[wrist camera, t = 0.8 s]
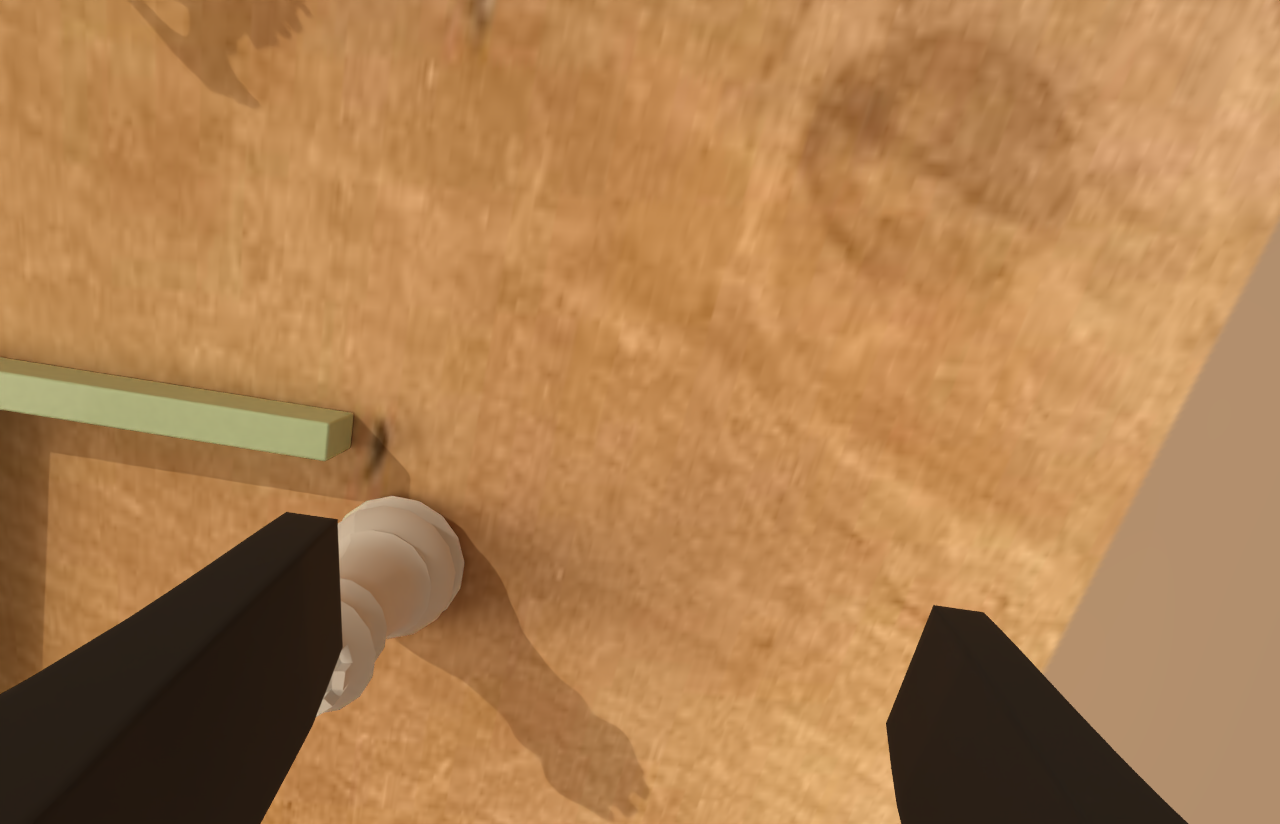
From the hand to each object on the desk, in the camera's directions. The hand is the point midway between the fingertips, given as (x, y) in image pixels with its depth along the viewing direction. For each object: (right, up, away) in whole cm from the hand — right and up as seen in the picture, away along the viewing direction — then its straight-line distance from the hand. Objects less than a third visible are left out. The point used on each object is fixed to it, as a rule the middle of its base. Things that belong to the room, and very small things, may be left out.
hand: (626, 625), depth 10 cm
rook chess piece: (-8, -2, +18) cm, 19 cm away
